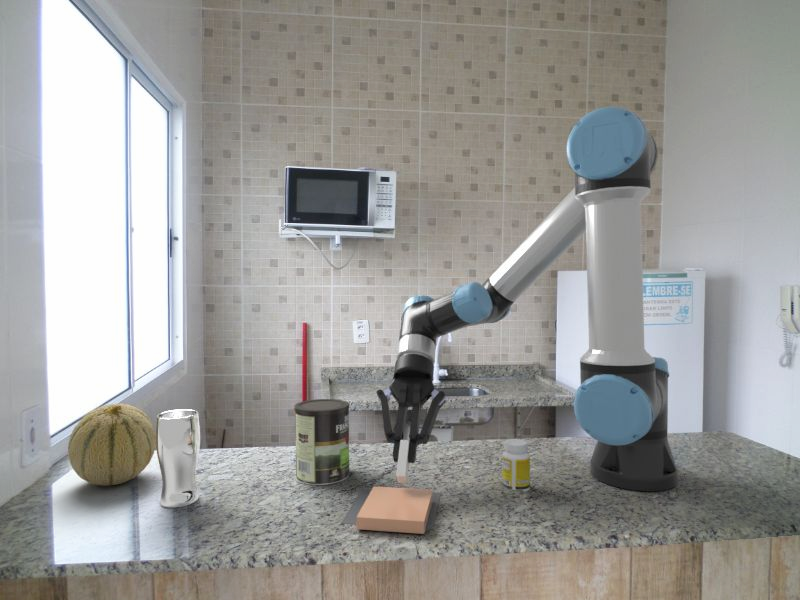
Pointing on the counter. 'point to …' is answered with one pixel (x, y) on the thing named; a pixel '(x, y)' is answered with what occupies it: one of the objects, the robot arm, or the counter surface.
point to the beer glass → (178, 456)
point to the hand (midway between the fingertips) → (401, 479)
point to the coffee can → (322, 441)
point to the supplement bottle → (516, 465)
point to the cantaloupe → (111, 444)
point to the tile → (396, 510)
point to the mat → (364, 493)
